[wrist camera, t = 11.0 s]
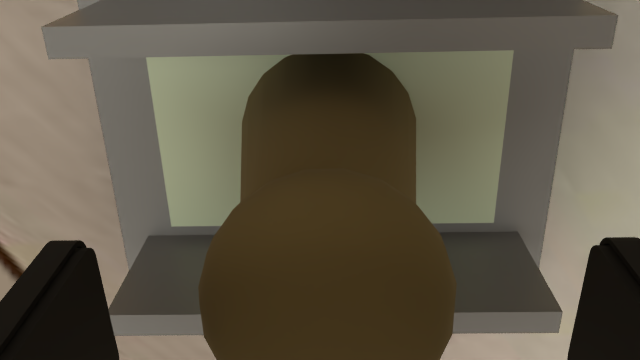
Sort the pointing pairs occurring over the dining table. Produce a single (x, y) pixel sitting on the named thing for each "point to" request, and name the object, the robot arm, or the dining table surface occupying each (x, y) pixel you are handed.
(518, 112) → the rack
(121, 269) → the dining table surface
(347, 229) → the brown gourd-shaped form
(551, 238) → the dining table surface
